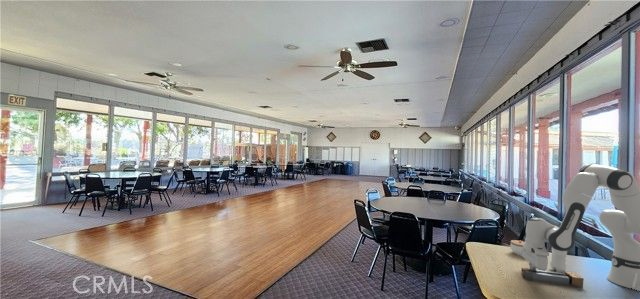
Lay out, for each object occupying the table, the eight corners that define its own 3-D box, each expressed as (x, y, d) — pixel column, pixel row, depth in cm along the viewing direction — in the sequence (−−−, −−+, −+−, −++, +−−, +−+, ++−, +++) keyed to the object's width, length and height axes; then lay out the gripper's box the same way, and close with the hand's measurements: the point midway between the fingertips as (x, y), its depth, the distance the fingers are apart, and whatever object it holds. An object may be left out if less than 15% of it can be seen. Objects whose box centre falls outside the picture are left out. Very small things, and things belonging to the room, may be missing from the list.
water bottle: (568, 274, 164) (572, 231, 163) (554, 272, 165) (557, 230, 164) (560, 268, 171) (564, 227, 170) (547, 267, 172) (550, 226, 171)
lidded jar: (506, 250, 197) (507, 237, 197) (520, 251, 198) (521, 237, 197) (517, 257, 186) (518, 243, 186) (533, 257, 187) (534, 243, 187)
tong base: (574, 281, 155) (574, 272, 155) (582, 287, 148) (583, 278, 148) (520, 274, 161) (520, 265, 161) (526, 280, 154) (527, 271, 154)
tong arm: (564, 280, 156) (565, 272, 155) (567, 282, 153) (568, 274, 153) (521, 274, 160) (521, 267, 160) (523, 276, 157) (523, 269, 157)
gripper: (519, 239, 170) (517, 262, 170) (537, 252, 150) (535, 278, 151) (531, 241, 169) (529, 264, 169) (551, 254, 149) (549, 280, 149)
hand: (532, 271), depth 160 cm, fingers closed
